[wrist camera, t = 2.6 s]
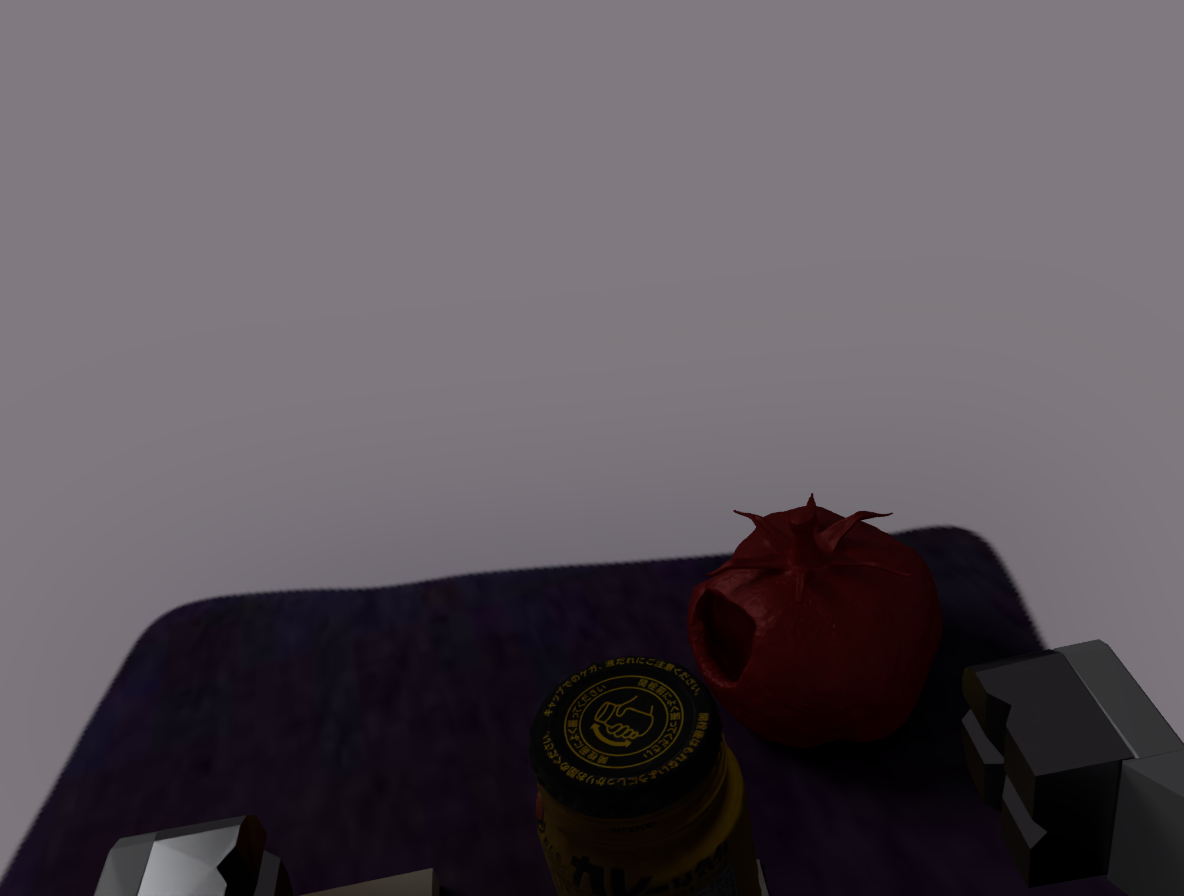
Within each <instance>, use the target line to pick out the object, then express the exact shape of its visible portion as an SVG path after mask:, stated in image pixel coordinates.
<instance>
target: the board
mask: <svg viewBox="0 0 1184 896" xmlns="http://www.w3.org/2000/svg"><path fill="white" fill-rule="evenodd" d="M439 886H440V885H439V882H438V880H437V878H436V875H435V873H434V870H433V868H431V869H426V870H421V871H416V872H411V873H407V874H402V875H397V876H392V877H387V878H383V879H378V880H373V881H368V882H363V883H358V884H354V885H349V886H344V887H339V888H334V889H330V890H325V891H320V892H315V893H310V894H306V895H301V896H439Z"/></svg>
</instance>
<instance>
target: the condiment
mask: <svg viewBox="0 0 1184 896" xmlns="http://www.w3.org/2000/svg"><path fill="white" fill-rule="evenodd" d="M723 726H724V725H723V724H722V723H721V717H720V715H719V713H718V707H717V705H716V702H715V701H714V700H713V698H712V696H711V693H710V692H709V690H708V688H707V687H706V685H705V684H704V683H702V682H701V681H700V680H698V679H697V678H696V677H694V676H693V675H692V674H691V673H690V672H689V670H688V669H687V668H685V667H683V666H681V665H679V664H677V663H673V662H670V661H666V660H663V659H658V658H653V657H642V656H634V657H632V656H625V657H621V658H616V659H608V660H605V661H602V662H592V663H591V664H590V665H589V666H588V667H586V668H585V669H582V670H580V671H578V672H575V673H574V674H572V675H570V676H569V677H567V678H566V679H565V680H564V681H563V682H561V683H560V684H559V685H558V686H557V687H556V688H555V689H554V690H553V691H552V692H551V693H550V694H549V695H547V696H546V697H545V699H544V700H543V703H542V705H541V707H540V708H539V711H538V713H537V715H536V717H535V719H534V721H533V723H532V726H531V729H530V747H529V752H530V757H531V759H532V762H531V767H532V769H533V771H534V772H535V773H536V778H537V788H538V794H537V801H536V819H537V831H538V834H539V838H540V840H541V844H542V846H543V850H544V853H545V857H546V859H547V863H548V866H549V868H550V872H551V874H552V877H553V882H554V884H555V886H556V890H557V893H558V896H769V894H768V891H767V888H766V884H765V880H764V877H763V873H762V870H761V866H760V862H759V859H758V860H756V851H755V848H754V843H753V840H752V829H751V822H750V818H749V810H748V802H747V793H746V789H747V787H746V785H745V782H744V780H743V777H742V773H741V770H740V767H739V764H738V762H737V759H736V758H735V756H734V755H733V753H732V751H731V750H730V749H729V747H728V746H727V745H726V742H725V738H724V735H723V733H722V729H721V728H722V727H723Z"/></svg>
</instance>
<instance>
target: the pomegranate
mask: <svg viewBox="0 0 1184 896" xmlns="http://www.w3.org/2000/svg"><path fill="white" fill-rule="evenodd" d="M734 512H735V513H737V514H740V515H743V516H746V517H748V518H750V519H751V520H752V521H753V522H754V524H755V525H756V528H755V530H754V531H753V532H752V533H751V534H750V535H749V536H748V537H747V538H746V539H744V540H743V541H742V542H741V543H740V544H739V546H738V547H737V548H736V550H735V552H734V554H733V556H732V558H731V560H729V561H727V562H725V563H724V564H723V565H722V566H721V567H720V568H718V569H717V570H715V571H713V572H711V573H708V574H706V575H707V576H711V577H713V578H711V579H710V580H706V581H705V582H702V583H700V584H699V585H698V586H696V587H695V588H694V589H693V592H692V595H691V601H690V605H689V610H688V620H687V627H688V637H689V642H690V646H691V649H692V651H693V655H694V657H695V660H696V663H697V665H698V668H699V670H700V673H701V674H702V676H703V678H704V680H705V683H706V684H707V685H708V687H709V688H710V690H711V691H712V693H713V694H714V696H715V697H716V698H717V699H718V700H719V702H720V703H721V704H722V705H723V707H724V708H725V709H726V710H727V711H729V712H730V713H731V714H732V716H733V717H734V718H736V720H737V721H738V722H739V723H741V724H742V725H743V726H745V727H746V728H748V729H749V730H751V731H752V732H754V733H755V734H756V735H758V736H760V737H762V738H763V739H765V740H768V741H770V742H777V743H779V744H782V745H785V746H790V747H795V748H811V747H814V746H818V745H821V744H823V743H826V742H832V741H835V740H840V739H845V740H851V741H855V742H871V741H874V740H878V739H881V738H884V737H886V736H888V735H891V734H892V733H894V732H895V731H896V730H897V729H898V728H899V727H900V726H902V725H903V724H904V722H905V721H906V720H907V718H908V717H909V715H910V714H911V712H912V710H913V708H914V707H915V705H916V703H917V701H918V699H919V696H920V693H921V691H922V689H923V686H924V683H925V682H926V679H927V676H928V674H929V670H930V667H931V664H932V661H933V659H934V656H935V654H936V652H937V650H938V646H939V642H940V640H941V632H942V627H943V624H942V614H941V608H940V604H939V601H938V596H937V589H936V586H935V583H934V581H933V578H932V574H931V571H930V569H929V567H928V565H927V563H926V562H925V561H924V559H922V557H921V555H920V554H919V553H918V552H917V551H916V550H915V549H914V548H912V547H908V546H906V545H904V544H903V543H901V542H899V541H896V540H895V539H894V537H893V536H892V535H889V534H888V533H885V532H883V531H881V530H879V529H878V528H876V527H874V526H872V525H869V524H867V523H865V522H862V521H861V520H865V519H870V518H874V517H884V516H889V515H891V514H893V513H889V514H878V513H874V512H868V511H859V512H856V513H855V514H853V515H851V516H849V517H847V518H844V517H843V516H840V515H838V514H836V513H833V512H832V511H829V510H827V509H824V508H822V507H818V506H816V503H815V501H814V498H813V493H811V497H810V498H809V500H808V503H807V506H803V507H798V508H795V509H791V510H788V511H784V512H776V513H771V514H769V515H767V516H764V517H761V516H758V515H755V514H751V513H743V512H739V511H736V510H734Z"/></svg>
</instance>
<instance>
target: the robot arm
mask: <svg viewBox="0 0 1184 896" xmlns="http://www.w3.org/2000/svg"><path fill="white" fill-rule="evenodd" d="M962 693H963V695H964V697H965V699H966V701H967V703H968V704H969V706H970V708H971V709H970V710H969V711H968V713H967V714H966V715H965V716H964V718H963V719H962V742H963V747H964V751H965V756H966V760H967V765H968V768H969V770H970V773H971V775H972V778H973V781H974V783H975V785H976V787H977V789H978V791H979V793H980V795H981V798H982V800H983V802H984V803H986V804H987V805H989V806H990V807H992V808H994V809H995V810H997V811H999V812H1000V813H1002V824H1001V837H1002V839H1003V841H1004V843H1005V845H1006V846H1007V848H1008V850H1009V852H1010V854H1011V856H1012V858H1013V860H1014V862H1015V864H1016V866H1017V868H1018V869H1019V871H1020V873H1021V875H1022V877H1023V879H1024V881H1025V883H1026V885H1027V887H1028V888H1033V887H1038V886H1044V885H1050V884H1056V883H1062V882H1067V881H1073V880H1079V879H1085V878H1091V877H1096V876H1102V875H1107V879H1108V880H1109V881H1111V882H1112V883H1113V884H1115V885H1116V886H1117V887H1119V888H1120V889H1121V890H1123V891H1124V892H1125V893H1127V894H1128V895H1129V896H1184V743H1183V742H1182V741H1181V739H1180V738H1179V737H1178V735H1177V734H1176V733H1175V732H1174V730H1173V729H1172V728H1171V726H1170V725H1169V724H1168V722H1167V721H1166V720H1165V719H1164V717H1163V716H1162V715H1161V713H1160V712H1159V711H1158V709H1157V708H1156V707H1155V706H1154V704H1153V703H1152V702H1151V700H1150V699H1149V698H1148V696H1147V695H1146V694H1145V692H1144V691H1143V690H1142V689H1141V687H1140V686H1139V685H1138V683H1137V682H1136V681H1135V679H1134V678H1133V677H1132V675H1131V674H1130V673H1129V672H1128V670H1127V669H1126V668H1125V666H1124V665H1123V664H1122V662H1121V661H1120V660H1119V659H1118V657H1117V656H1116V654H1115V653H1114V652H1113V651H1112V649H1111V648H1110V647H1109V646H1108V644H1106V643H1104V642H1102V641H1101V640H1099V639H1098V640H1093V641H1088V642H1083V643H1079V644H1074V645H1070V646H1064V647H1060V648H1055V649H1053V650H1050V649H1048V650H1043V651H1039V652H1034V653H1029V654H1025V655H1020V656H1016V657H1011V658H1006V659H1002V660H997V661H992V662H988V663H983V664H979V665H974V666H969V667H966V668H965V670H964V673H963V675H962ZM266 836H267V833H266V831H265V830H264V828H263V826H262V825H261V823H260V821H259V820H258V818H257V816H256V815H245V816H240V817H234V818H229V819H223V820H217V821H212V822H206V823H200V824H195V825H189V826H183V827H178V828H172V829H167V830H163V831H158V832H153V833H148V834H142V835H137V836H131V837H126V838H120V839H119V841H118V842H117V843H116V844H115V845H114V846H113V848H112V849H111V850H110V852H109V854H108V857H107V859H106V862H105V865H104V868H103V871H102V874H101V877H100V879H99V882H98V885H97V888H96V891H95V894H94V896H293V890H292V886H291V883H290V879H289V875H288V872H287V870H286V868H285V866H284V864H283V862H282V860H281V859H280V858H278V857H276V856H274V855H272V854H270V853H268V852H266V851H264V847H265V841H266Z"/></svg>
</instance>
